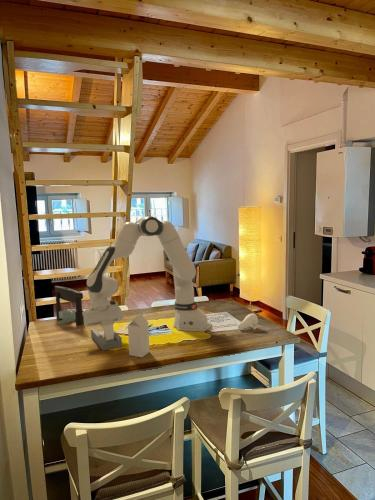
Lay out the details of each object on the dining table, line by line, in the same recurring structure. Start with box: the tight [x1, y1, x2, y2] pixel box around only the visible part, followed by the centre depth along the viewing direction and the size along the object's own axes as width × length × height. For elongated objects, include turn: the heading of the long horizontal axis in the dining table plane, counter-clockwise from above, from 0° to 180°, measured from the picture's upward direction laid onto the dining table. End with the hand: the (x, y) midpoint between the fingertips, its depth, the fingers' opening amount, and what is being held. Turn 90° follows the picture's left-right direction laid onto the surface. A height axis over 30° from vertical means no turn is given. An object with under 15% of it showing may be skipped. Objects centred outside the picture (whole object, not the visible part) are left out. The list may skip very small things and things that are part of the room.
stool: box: [54, 285, 85, 326], centre depth 224 cm, size 16×21×33 cm
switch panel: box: [90, 328, 123, 351], centre depth 189 cm, size 22×10×4 cm, turn 29°
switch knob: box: [102, 319, 115, 341], centre depth 183 cm, size 5×5×9 cm
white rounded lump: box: [237, 313, 259, 331], centre depth 202 cm, size 6×8×12 cm
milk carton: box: [127, 313, 150, 358], centre depth 171 cm, size 7×7×19 cm
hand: (107, 329), depth 185 cm, fingers closed, pressing on switch knob
